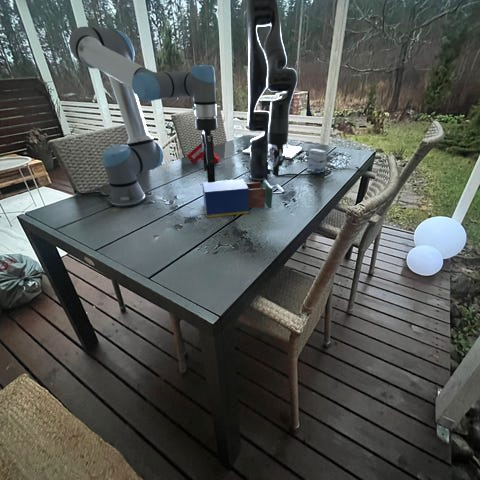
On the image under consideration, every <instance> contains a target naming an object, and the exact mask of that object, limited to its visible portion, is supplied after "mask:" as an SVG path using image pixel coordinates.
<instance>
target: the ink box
mask: <svg viewBox="0 0 480 480" xmlns="http://www.w3.org/2000/svg"><path fill="white" fill-rule="evenodd" d="M327 153H328V151H327V150H323V149H318V148H311V149H310V150H309V151H308V159H307V167H306V171H308V172H311V173H317V172H316V171H322V170H324V171H325V165H326V159H327ZM308 169H311V170H308ZM312 170H315V171H312Z"/></svg>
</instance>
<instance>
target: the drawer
mask: <svg viewBox="0 0 480 480" xmlns="http://www.w3.org/2000/svg"><path fill="white" fill-rule="evenodd" d="M245 183H246V185H247V186H248V188H249V209H258V208H265V207H266V206H267V209H272V206H273V205H272V204H273V195H285V194H286V191H285V190H284V189H283V188H282V187H281V186H280V185H279V184H276V185H271V184H270V183H269V182H268V181H267V179H265V180H262V182H261V181H253V182H245ZM261 186H262V187H261ZM274 188H276V189H277V190H278V191H275V192H273V189H274Z"/></svg>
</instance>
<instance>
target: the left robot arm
mask: <svg viewBox="0 0 480 480" xmlns="http://www.w3.org/2000/svg"><path fill="white" fill-rule="evenodd" d="M68 40H69V41H68V43H69V44H68V45H69V50H70V51H71V54H72V55H73V57H74V58H75V60H77V61H78V62H79V64H81V65H83V66H85V67H87V68H89V69H94V70H95V69H96V70H99V71H100V72H102V73H104V74H105V75H107V77H108V79H109V82H110V84H111V88H112V91H113V94H114V97H115V99H116V100H115V101H116V102H117V105H118V109H119V112H120V115H121V118H122V121H123V124H124V127H125V129H126V133H127V136H128V140H127V142H126V144H119V145H113V146H110V147H108V148H106V149H104V150H103V152H102V153H101V158H102V159H101V160H102V164H103V166H104V170H105V173H106V177H107V180H108V184H109V193H108V194H105V193H104V192H103V191H100V190H94V191H89V192H81V191H80V190H78V189H76V188H75V189H74V190H73V193H77V194H79V195H82V196H87V195H88V196H89V195H93V194H101V196H102V197H106V198H107V197H109V204H110V205H111V206H113V207H115V208H130V207H135V206H137V205H140V204H141V203H143V202H144V201H145V200H146V194H145V192H144V190H143V189H142V187H141V185H140V184H139V181H138V177H137V175H139V174H143V173H145V172H148V171H151V170H155V169H157V168H159V167H160V166H161V165H162V163H163V161H164V151H163V148H162V146H161V145H160V144H159V142H158V141H155V140H154V139H155V138H154V137H153V136H151V135H150V134H149V131H148V127H147V125H146V121H145V118H144V113H143V111H142V108H141V104H140V101H143V102H145V101H147V102H148V101H149V102H154V101H157V100H165V99H175V98H192V99H193V104H194V106H192V110H193V111H194V116H195V120H194V122H195V130H197V131H201V134H200V137H201V143H202V150H203V160H202V161H203V170H204V171H205V172H206V175H207V182H208V183H210V182H215V181H216V171H215V170H216V169H215V165H216V164H215V159H214V153H215V151H214V150H215V149H214V147H213V144H214V135H213V133H212V132H211V131H216V130H217V129H218V119H217V115H218V114H217V113H218V112H217V100H216V99H217V98H216V73H215V68H214V66H213V65H211V64H193V65H191V67H190V71H179V70H173V71H157V72H156V71H152V70H151V69H148V68H146V67H145V66H143V65H141V64H138V63H137V62H136V61H135V56H136V54H135V48H134V46H133V43H132V41H131V39H130V38H129V36H128V35H127V34H125V32H123V31H121V30H119V29H114V28H105V27H104V28H103V27H95V26H93V27H92V26H85V25H84V26H79V27H77V28H75V29H74V30H73V31H72V32H71V34H70V36H69V39H68ZM211 161H212V162H211Z"/></svg>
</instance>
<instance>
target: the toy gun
mask: <svg viewBox="0 0 480 480" xmlns="http://www.w3.org/2000/svg"><path fill="white" fill-rule="evenodd" d="M213 148H215V143H213ZM186 157H187V159H188V160H189V161H190V162H191V163H192V164H194V163H197V162H198V161H199V160H200V159H201V160H202V161H204V160H203V150H202V142H201V143H199V144H198V145H196V147H195V148H194V149H193V150H191V151H190V152H189V153H188V154H187V155H186ZM214 159H215V165H217V164H219V163H220V160H221V156H220V155H218V154H217V153H216V152H214ZM210 162H212V161H210Z"/></svg>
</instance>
